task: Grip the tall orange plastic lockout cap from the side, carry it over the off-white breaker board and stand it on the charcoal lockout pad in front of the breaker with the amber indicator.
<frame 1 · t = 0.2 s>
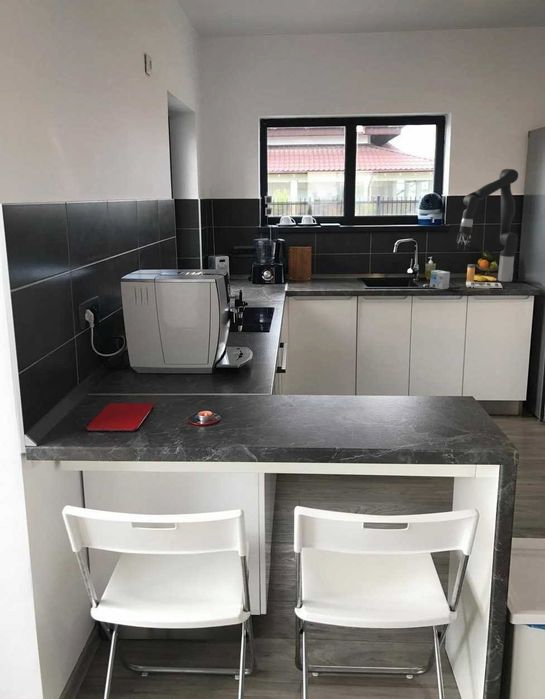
hand: (462, 250, 457), 22 cm above the counter, tool pointing down, fingers open, 8 cm apart
light bulb box: (439, 288, 445), on the counter
breaker board: (483, 286, 451), on the counter
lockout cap: (470, 282, 465), on the counter
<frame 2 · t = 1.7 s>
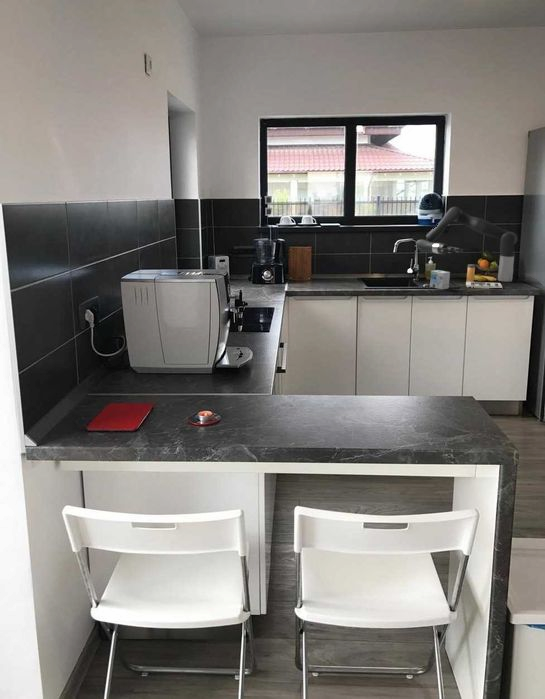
hand: (459, 251, 468), 20 cm above the counter, tool horizontal, fingers open, 8 cm apart
nothing on the counter moved.
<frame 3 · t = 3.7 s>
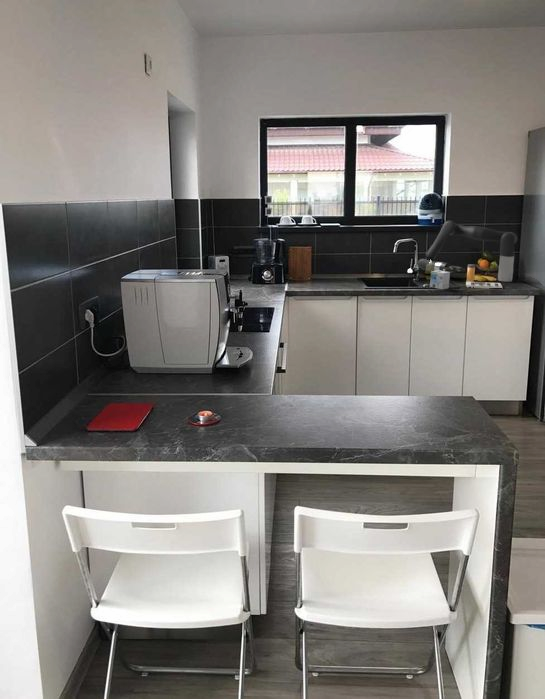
hand: (461, 270, 469), 7 cm above the counter, tool horizontal, fingers open, 8 cm apart
nothing on the counter moved.
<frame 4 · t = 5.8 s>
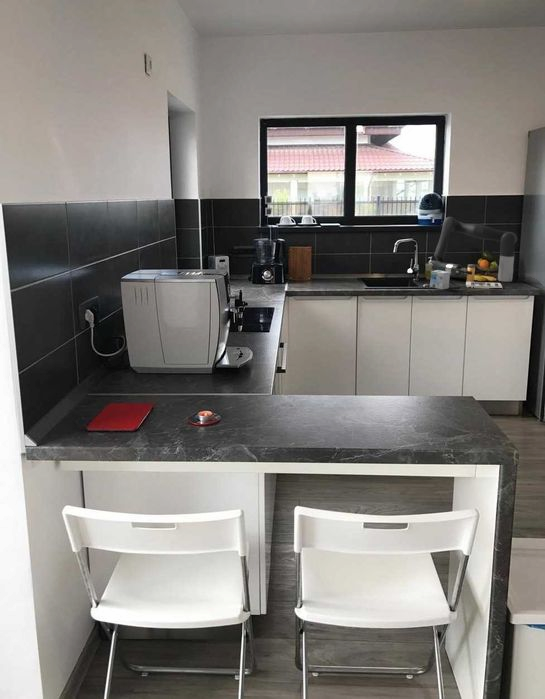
hand: (474, 272, 461), 7 cm above the counter, tool horizontal, fingers closed on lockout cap, 5 cm apart
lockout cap: (470, 282, 465), on the counter, touching gripper
everything else where it was.
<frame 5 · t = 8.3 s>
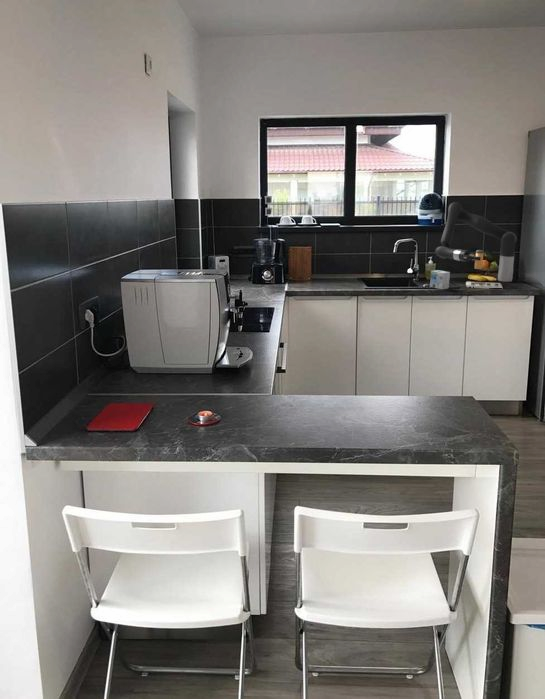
hand: (482, 258, 450), 18 cm above the counter, tool horizontal, fingers closed on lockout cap, 4 cm apart
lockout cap: (478, 268, 454), point 11 cm above the counter, touching gripper
everything else where it was.
when the fingers open (10 cm above the counter, at t = 10.5 s): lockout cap drops 1 cm, resting on breaker board.
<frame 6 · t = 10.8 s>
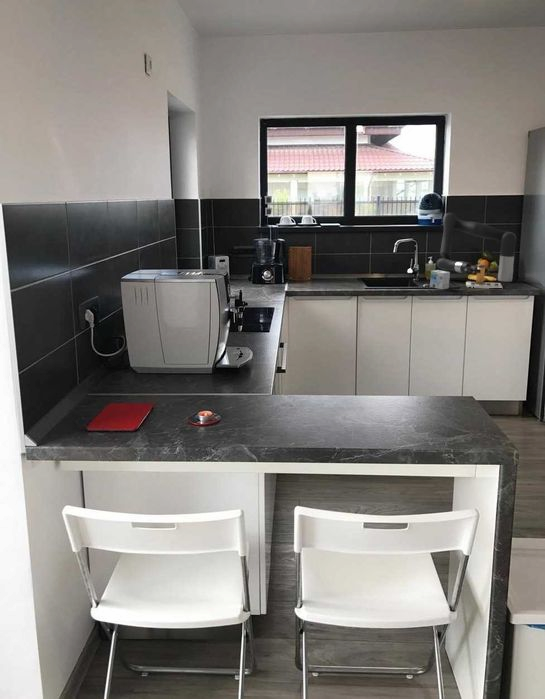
hand: (483, 270, 449), 10 cm above the counter, tool horizontal, fingers open, 7 cm apart
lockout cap: (479, 282, 453), point 2 cm above the counter, touching breaker board
everything else where it was.
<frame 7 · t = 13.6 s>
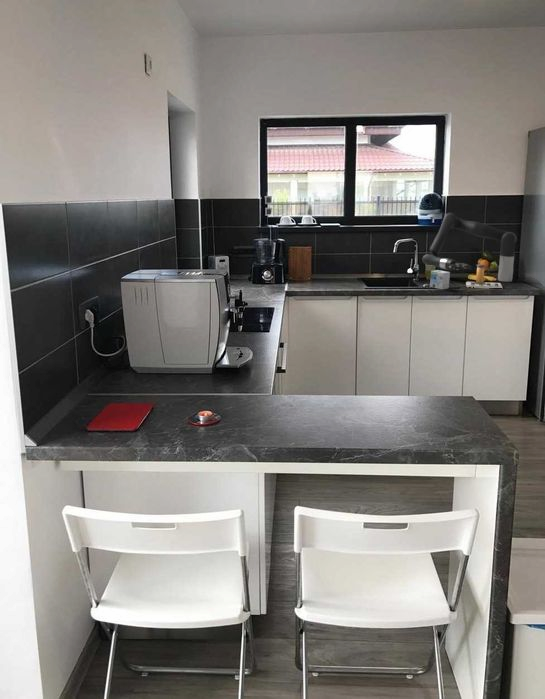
hand: (467, 268, 459), 10 cm above the counter, tool horizontal, fingers open, 8 cm apart
nothing on the counter moved.
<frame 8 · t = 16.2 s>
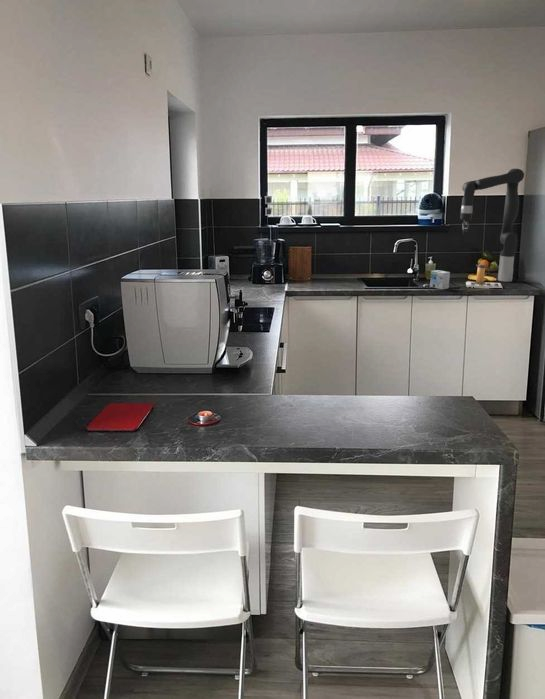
hand: (464, 236, 465), 30 cm above the counter, tool pointing down, fingers open, 8 cm apart
nothing on the counter moved.
at the end: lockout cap inside the target area on the breaker board (0.1 cm from its centre), point 1.9 cm above the breaker board's base; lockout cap tilted 1°; the gripper is holding nothing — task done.
